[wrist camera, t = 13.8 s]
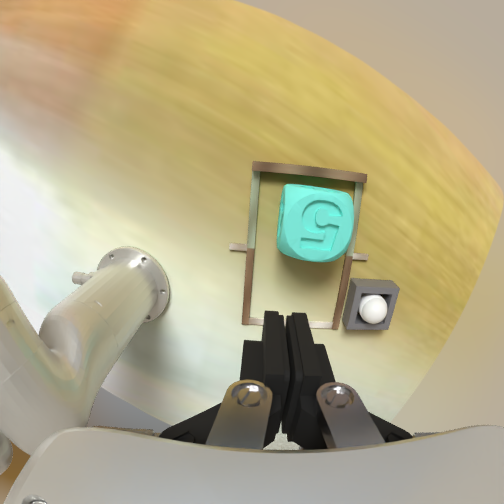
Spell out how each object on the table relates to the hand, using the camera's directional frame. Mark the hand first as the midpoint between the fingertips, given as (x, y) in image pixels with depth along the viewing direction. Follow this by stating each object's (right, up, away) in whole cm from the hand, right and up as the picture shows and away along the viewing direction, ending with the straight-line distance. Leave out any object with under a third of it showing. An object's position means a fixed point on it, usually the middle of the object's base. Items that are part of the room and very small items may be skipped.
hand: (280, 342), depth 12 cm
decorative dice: (+6, +9, +28) cm, 30 cm away
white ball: (+17, -4, +30) cm, 35 cm away
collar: (+17, -4, +31) cm, 35 cm away
